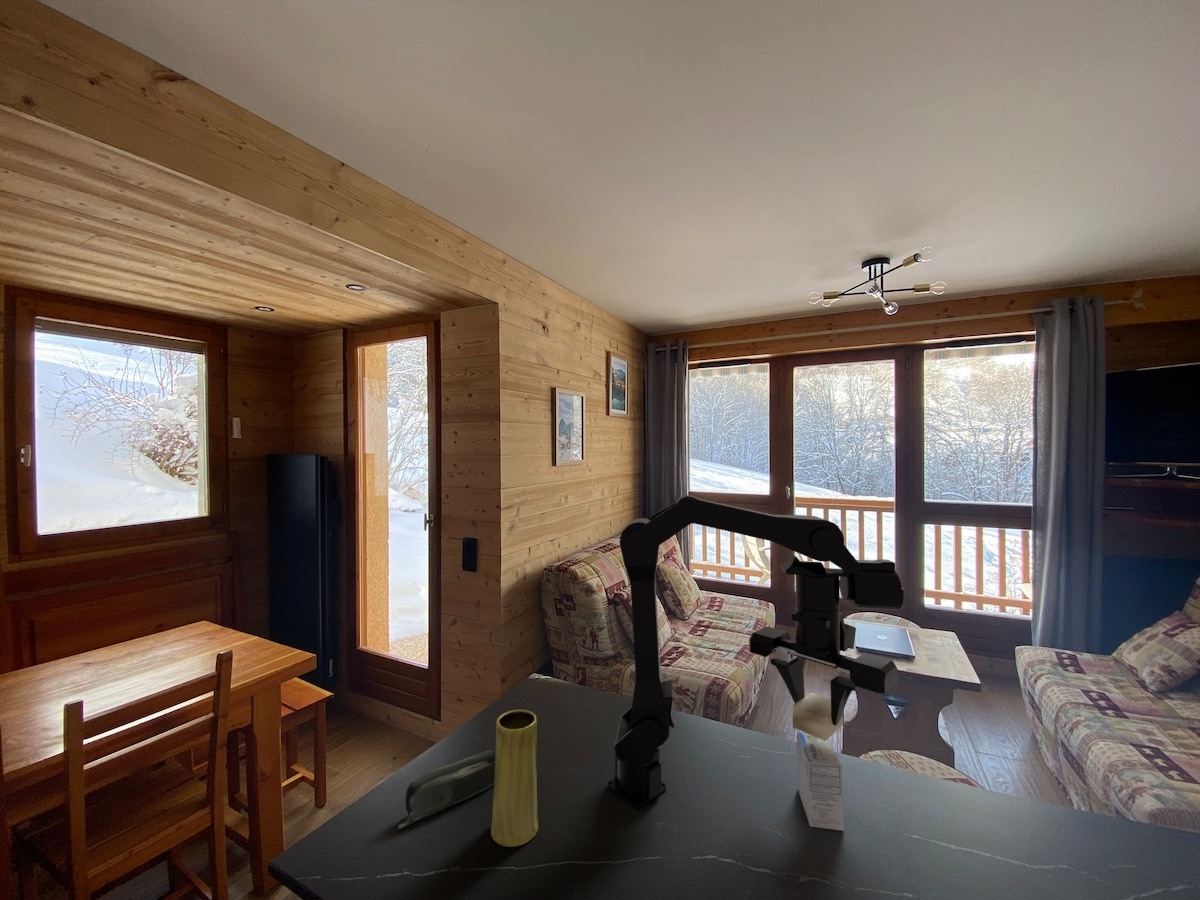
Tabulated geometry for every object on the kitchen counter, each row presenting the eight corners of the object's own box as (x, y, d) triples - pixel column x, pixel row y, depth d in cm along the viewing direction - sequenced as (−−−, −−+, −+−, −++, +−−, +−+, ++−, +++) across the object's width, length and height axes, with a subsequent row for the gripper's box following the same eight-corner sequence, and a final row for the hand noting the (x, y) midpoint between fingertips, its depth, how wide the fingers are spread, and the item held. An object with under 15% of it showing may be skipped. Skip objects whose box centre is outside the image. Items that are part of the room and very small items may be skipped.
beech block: (792, 727, 68) (792, 705, 68) (811, 712, 72) (811, 692, 72) (825, 740, 64) (825, 718, 64) (843, 724, 68) (842, 703, 68)
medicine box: (844, 833, 63) (844, 765, 63) (808, 827, 64) (807, 761, 64) (828, 793, 71) (828, 733, 71) (796, 789, 72) (796, 730, 72)
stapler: (492, 743, 75) (394, 783, 64) (503, 752, 72) (402, 794, 62) (491, 776, 74) (392, 821, 64) (501, 786, 72) (400, 834, 62)
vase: (545, 819, 65) (547, 712, 65) (524, 854, 59) (526, 735, 60) (506, 808, 67) (507, 704, 67) (481, 840, 61) (483, 726, 62)
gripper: (909, 609, 67) (911, 723, 66) (782, 584, 81) (782, 679, 80) (882, 627, 59) (883, 755, 59) (746, 596, 73) (746, 700, 73)
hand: (817, 717), depth 68 cm, fingers closed on beech block, 4 cm apart
